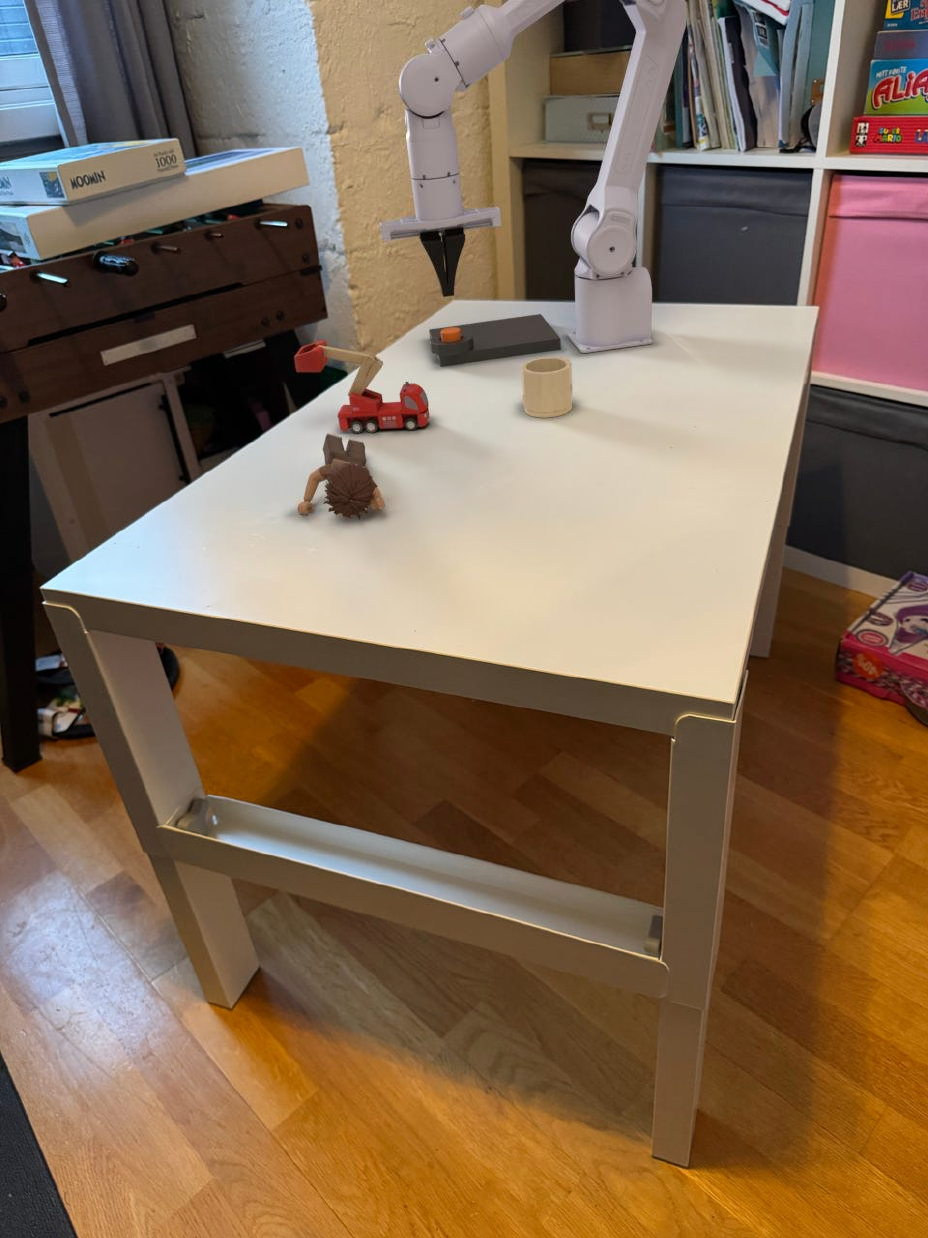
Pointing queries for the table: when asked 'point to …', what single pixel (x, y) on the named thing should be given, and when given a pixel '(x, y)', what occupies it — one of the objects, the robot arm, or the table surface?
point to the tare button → (450, 334)
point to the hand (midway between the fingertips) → (447, 294)
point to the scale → (495, 340)
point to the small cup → (547, 386)
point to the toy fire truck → (367, 392)
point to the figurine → (343, 480)
